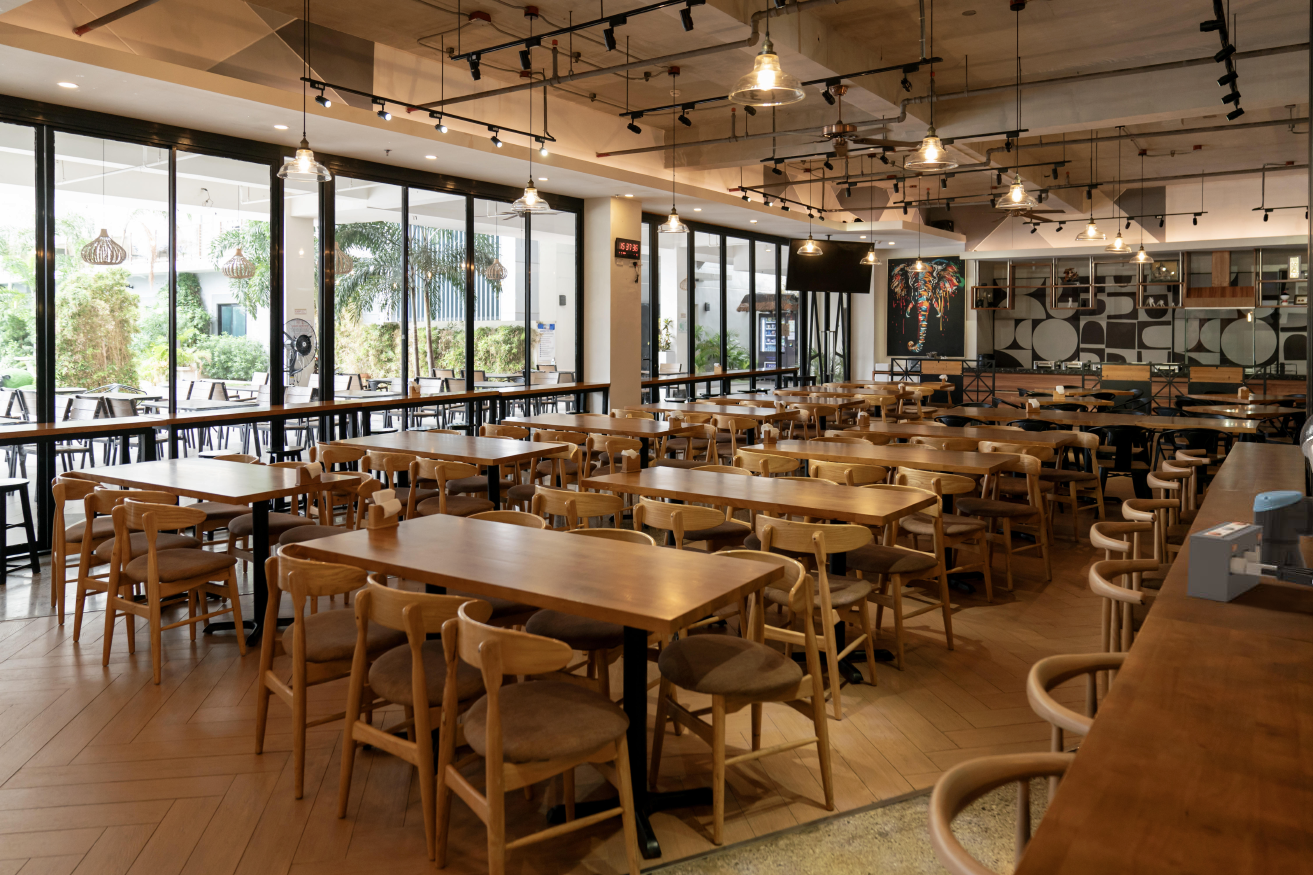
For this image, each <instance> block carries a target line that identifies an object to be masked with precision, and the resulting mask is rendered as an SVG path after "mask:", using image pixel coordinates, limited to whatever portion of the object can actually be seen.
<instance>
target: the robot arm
mask: <svg viewBox="0 0 1313 875" xmlns="http://www.w3.org/2000/svg"><path fill="white" fill-rule="evenodd" d="M1299 444H1300V448H1301V452H1302V455H1304V456H1305V457H1306V458H1308V460H1309V463H1310V467H1311V471H1312V472H1313V414H1311V416H1309V418H1308V419H1307V420H1306V422H1305V423H1304V425H1303V426H1302V428H1301V431H1300V437H1299ZM1303 494H1304V493H1302V491H1297V490H1276V491H1275V490H1273V491H1266V492H1261V493H1259V494H1257V495H1256V496H1255V498H1254V503H1253V508H1252V511H1253V517H1252V518H1253V519H1252V523H1253V524H1252V525H1258V526H1263V535H1262V555H1261V564H1257V563H1249V562H1248V563H1247V569H1246V574H1252V575H1258V576H1260V577H1267V578H1274V579H1277V581H1280V582H1284V583H1285V582H1287V583H1292V584H1296V585H1303V586H1307V587H1311V588H1313V568H1312V567H1311V568H1310V567H1307V564H1306V561H1305V558H1304V554H1303V551H1302V549H1301V537H1309V538H1313V496H1304V495H1303Z"/></svg>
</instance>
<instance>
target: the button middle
mask: <svg viewBox="0 0 1313 875" xmlns="http://www.w3.org/2000/svg"><path fill="white" fill-rule="evenodd" d="M1243 559H1247V562H1249V563H1257V564H1259V563H1260V555H1259V553H1255V552H1247V551H1243Z"/></svg>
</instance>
